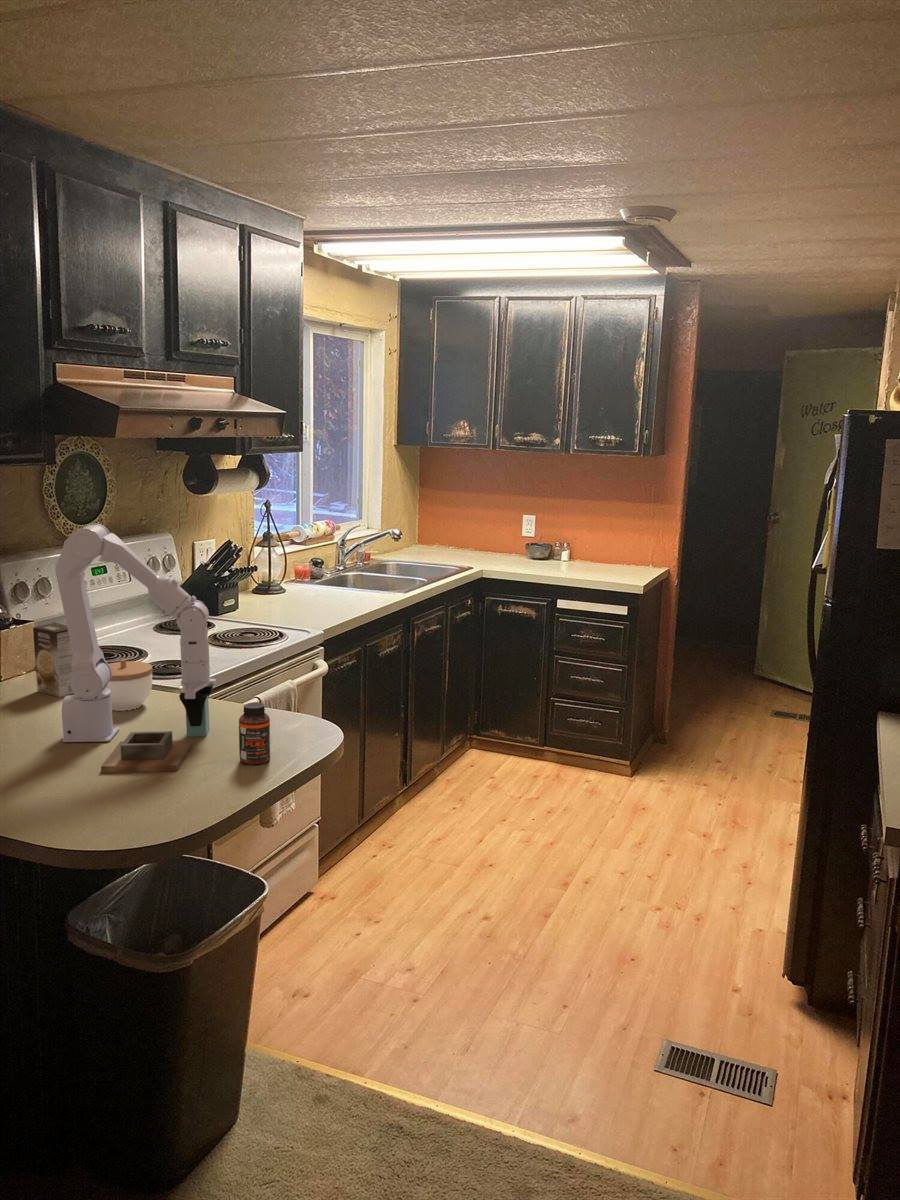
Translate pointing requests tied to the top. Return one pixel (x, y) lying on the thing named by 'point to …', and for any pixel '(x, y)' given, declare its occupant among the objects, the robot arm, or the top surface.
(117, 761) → the end holder
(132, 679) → the lidded bowl
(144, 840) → the top surface
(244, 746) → the supplement bottle
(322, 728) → the top surface
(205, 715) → the block
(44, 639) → the coffee box
